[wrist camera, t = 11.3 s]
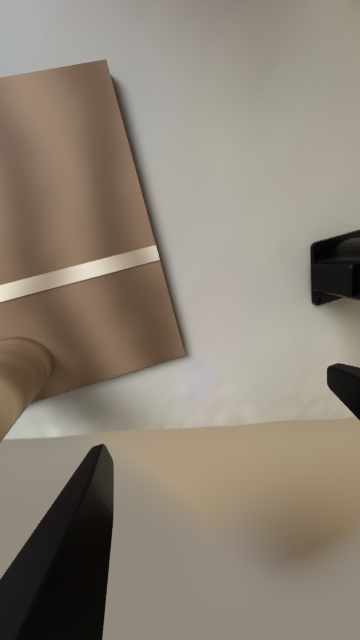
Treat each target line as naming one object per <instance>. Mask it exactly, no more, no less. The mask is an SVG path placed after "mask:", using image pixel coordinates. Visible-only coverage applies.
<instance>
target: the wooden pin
mask: <svg viewBox="0 0 360 640" xmlns="http://www.w3.org/2000/svg"><path fill="white" fill-rule="evenodd" d="M53 369H54V361H53V358H52V355H51V353H50V352H49V351H48V349H47V348H46V347H45V346H43V345H42V344H41V343H39V342H37V341H35V340H33V339H30V338H26V337H9V338H6V339H3V340H1V341H0V442H1V441H2V440H3V438H4V437H5V436H6V434H7V433H8V432H9V430H10V429H11V428H12V426H13V425H14V424H15V422H16V421H17V420H18V418H19V417H20V416H21V414H22V413H23V412H24V410H25V409H26V408H27V406H28V405H29V404H30V403H31V401H32V400H33V399H34V397H35V396H36V395H37V393H38V392H39V391H40V389H41V388H42V387H43V385H44V384H45V383H46V381H47V380H48V379H49V377H50V376H51V374H52V372H53Z"/></svg>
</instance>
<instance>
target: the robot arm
mask: <svg viewBox="0 0 360 640" xmlns="http://www.w3.org/2000/svg"><path fill="white" fill-rule="evenodd" d="M316 246H318V247H317V249H316ZM311 282H312V303H313V304H315V305H321V304H324V303H327V302H331V301H334V300H337V299H340V298H348V299H353V300H357V301H360V230H357V231H353V232H349V233H346V234H342V235H339V236H335V237H331V238H328V239H324V240H320V241H317V242H314V243H313V244H312V245H311ZM317 300H318V301H317ZM327 384H328V387H329V388H330V390H331V391H332V392H333V393H334V394H335V395H336V396H337V397H338V398H339V399H340V400H341V401H342V402H343V403H344V404H345V405H346V406H347V407H348V408H349V410H350V411H351V412H352V413H353V414H354V415H355V416H356V417H357V418H358V419H359V420H360V368H359V367H354V366H350V365H345V364H340V363H337V364H334V365H331V366H329V367H328V368H327ZM113 472H114V471H113V460H112V457H111V455H110V453H109V452H108V449H107V448H106V446H105V445H104V444H100V445H97V446H94V447H92V449H90V451H89V452H88V454H87V455H86V457H85V458H84V459H83V461H82V463H81V464H80V465H79V467H78V468H77V470H76V471H75V472H74V474H73V475H72V477H71V478H70V480H69V481H68V483H67V484H66V486H65V487H64V488H63V490H62V491H61V493H60V494H59V495H58V497H57V498H56V500H55V501H54V503H53V504H52V506H51V507H50V508H49V510H48V511H47V513H46V514H45V516H44V517H43V519H42V520H41V521H40V523H39V524H38V526H37V527H36V529H35V530H34V532H33V533H32V535H31V536H30V537H29V539H28V540H27V542H26V543H25V545H24V546H23V547H22V549H21V551H20V552H19V553H18V555H17V556H16V558H15V559H14V561H13V562H12V563H11V565H10V566H9V568H8V569H7V571H6V572H5V573H4V575H3V576H2V578H1V579H0V640H102V636H103V625H104V614H105V604H106V603H105V602H106V593H107V582H108V571H109V559H110V549H111V538H112V528H113V485H114V484H113V483H114V482H113V481H114V479H113V477H114V474H113Z"/></svg>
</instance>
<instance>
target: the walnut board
mask: <svg viewBox="0 0 360 640" xmlns="http://www.w3.org/2000/svg"><path fill="white" fill-rule="evenodd" d="M9 337H26V338H30V339H33V340H35V341H37V342H39V343H41V344H42V345H43V346H45V347H46V348H47V349H48V351H49V352H50V353H51V355H52V358H53V361H54V369H53V372H52V374H51V376H50V377H49V379H48V380H47V381H46V383H45V384H44V385H43V387H42V388H41V389H40V391H39V392H38V393H37V395H36V396H35V397H34V399H33V400H32V401H31V403H32V402H35V401H38V400H42V399H45V398H48V397H51V396H55V395H58V394H61V393H64V392H67V391H71V390H74V389H77V388H80V387H84V386H87V385H90V384H93V383H96V382H100V381H103V380H106V379H109V378H113V377H116V376H119V375H122V374H125V373H129V372H132V371H135V370H138V369H142V368H145V367H148V366H151V365H154V364H158V363H161V362H164V361H167V360H171V359H174V358H177V357H180V356H184V355H185V352H184V348H183V344H182V341H181V337H180V333H179V330H178V326H177V322H176V318H175V315H174V311H173V307H172V303H171V300H170V296H169V292H168V289H167V285H166V281H165V277H164V274H163V270H162V266H161V262H160V258H159V255H158V251H157V247H156V244H155V240H154V236H153V233H152V229H151V225H150V221H149V218H148V214H147V210H146V206H145V203H144V199H143V195H142V192H141V188H140V184H139V180H138V177H137V173H136V169H135V165H134V162H133V158H132V154H131V150H130V147H129V143H128V139H127V136H126V132H125V128H124V124H123V121H122V117H121V113H120V109H119V106H118V102H117V98H116V94H115V91H114V87H113V83H112V80H111V76H110V72H109V68H108V65H107V61H106V60H100V61H94V62H89V63H83V64H77V65H71V66H66V67H60V68H54V69H48V70H43V71H37V72H31V73H25V74H20V75H14V76H8V77H2V78H0V341H1V340H3V339H6V338H9Z"/></svg>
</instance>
